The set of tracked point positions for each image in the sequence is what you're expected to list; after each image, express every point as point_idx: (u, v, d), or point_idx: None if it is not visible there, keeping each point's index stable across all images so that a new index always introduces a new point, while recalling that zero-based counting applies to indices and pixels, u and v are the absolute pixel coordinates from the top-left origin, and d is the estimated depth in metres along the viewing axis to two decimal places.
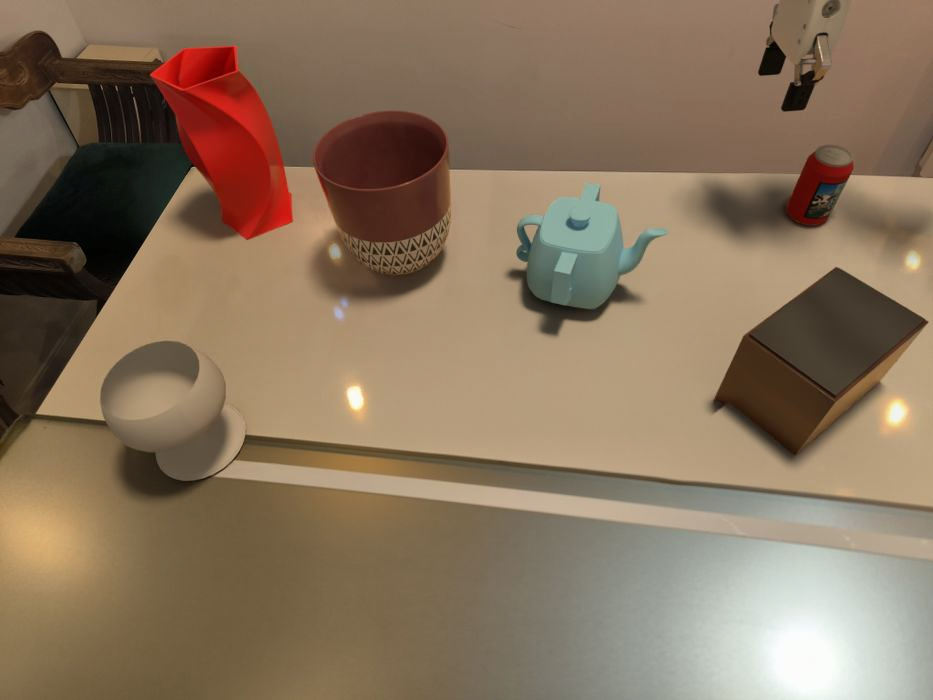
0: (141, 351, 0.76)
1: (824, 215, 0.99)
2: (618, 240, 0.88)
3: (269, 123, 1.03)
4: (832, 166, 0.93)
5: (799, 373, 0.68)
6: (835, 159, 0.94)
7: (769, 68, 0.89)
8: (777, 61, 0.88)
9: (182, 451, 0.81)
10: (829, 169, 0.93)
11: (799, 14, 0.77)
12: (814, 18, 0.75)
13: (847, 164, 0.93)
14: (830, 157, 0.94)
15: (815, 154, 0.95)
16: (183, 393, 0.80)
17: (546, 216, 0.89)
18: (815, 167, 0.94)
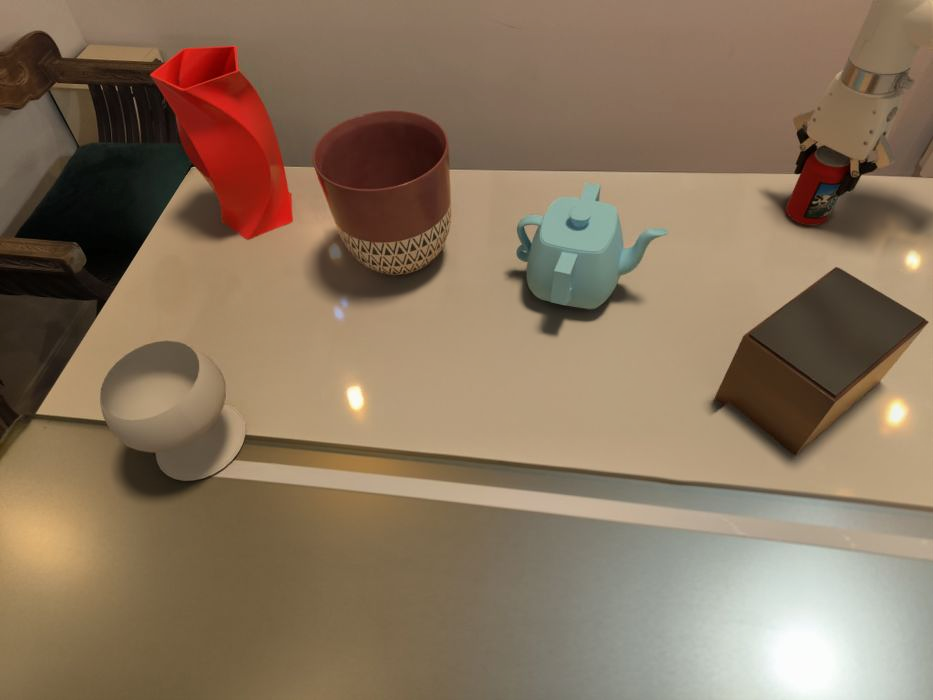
0: (141, 351, 0.76)
1: (824, 215, 0.99)
2: (618, 240, 0.88)
3: (269, 123, 1.03)
4: (832, 166, 0.93)
5: (799, 373, 0.68)
6: (835, 159, 0.94)
7: None
8: None
9: (182, 451, 0.81)
10: (829, 169, 0.93)
11: (861, 122, 0.86)
12: (881, 124, 0.85)
13: (847, 164, 0.93)
14: (830, 157, 0.94)
15: (815, 154, 0.95)
16: (183, 393, 0.80)
17: (546, 216, 0.89)
18: (815, 167, 0.94)
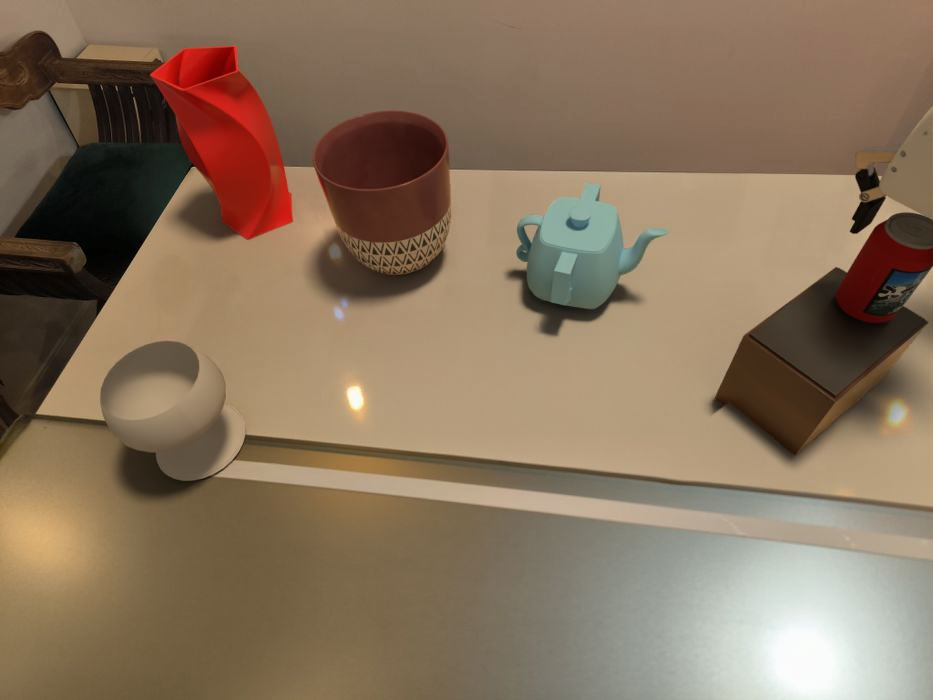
0: (141, 351, 0.76)
1: (894, 311, 0.69)
2: (618, 240, 0.88)
3: (269, 123, 1.03)
4: (913, 248, 0.62)
5: (799, 373, 0.68)
6: (916, 236, 0.63)
7: (865, 223, 0.67)
8: (873, 213, 0.67)
9: (182, 451, 0.81)
10: (909, 252, 0.62)
11: None
12: None
13: None
14: (909, 233, 0.63)
15: (886, 227, 0.64)
16: (183, 393, 0.80)
17: (546, 216, 0.89)
18: (887, 248, 0.63)
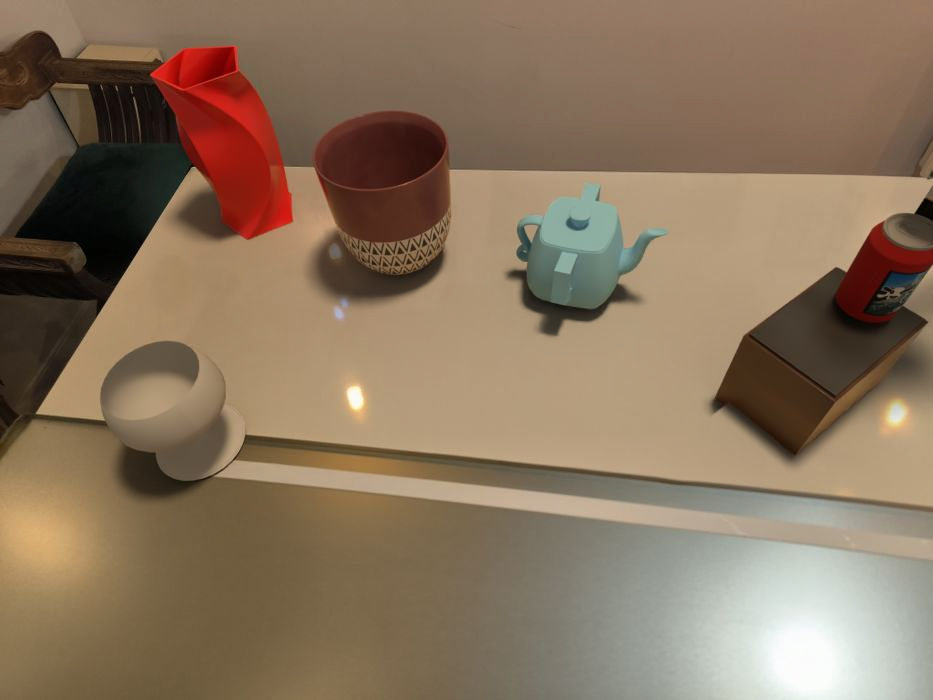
0: (141, 351, 0.76)
1: (894, 311, 0.68)
2: (618, 240, 0.88)
3: (269, 123, 1.03)
4: (910, 250, 0.62)
5: (799, 373, 0.68)
6: (914, 237, 0.63)
7: None
8: None
9: (182, 451, 0.81)
10: (906, 254, 0.62)
11: None
12: None
13: None
14: (906, 235, 0.63)
15: (883, 229, 0.64)
16: (183, 393, 0.80)
17: (546, 216, 0.89)
18: (884, 250, 0.63)
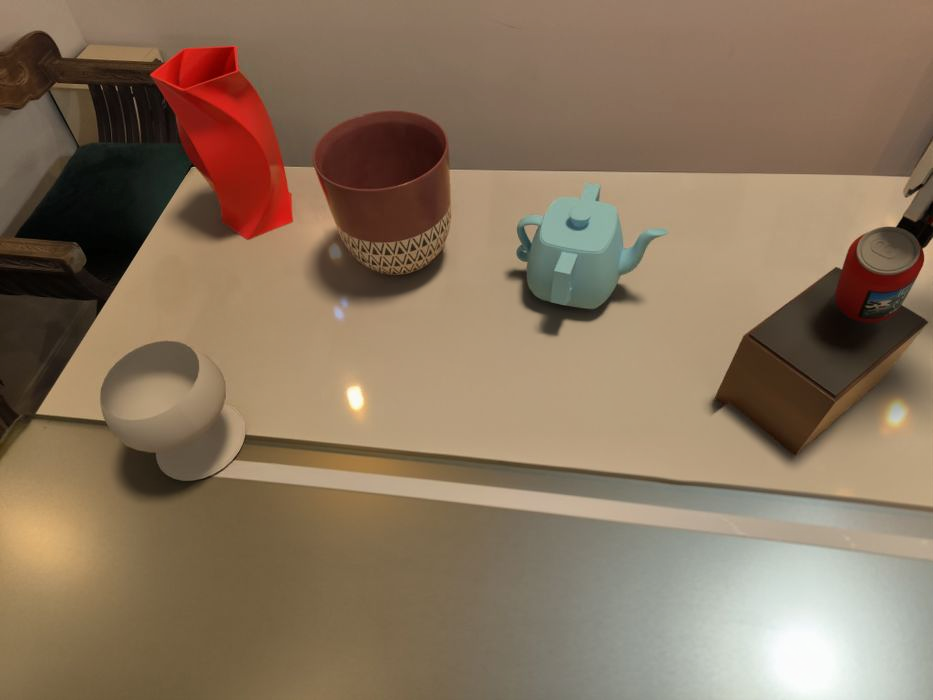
0: (141, 351, 0.76)
1: (891, 312, 0.68)
2: (618, 240, 0.88)
3: (269, 123, 1.03)
4: (883, 274, 0.61)
5: (799, 373, 0.68)
6: (889, 258, 0.61)
7: None
8: None
9: (182, 451, 0.81)
10: (879, 278, 0.61)
11: None
12: None
13: (909, 267, 0.60)
14: (881, 256, 0.61)
15: (856, 252, 0.63)
16: (183, 393, 0.80)
17: (546, 216, 0.89)
18: (858, 274, 0.63)
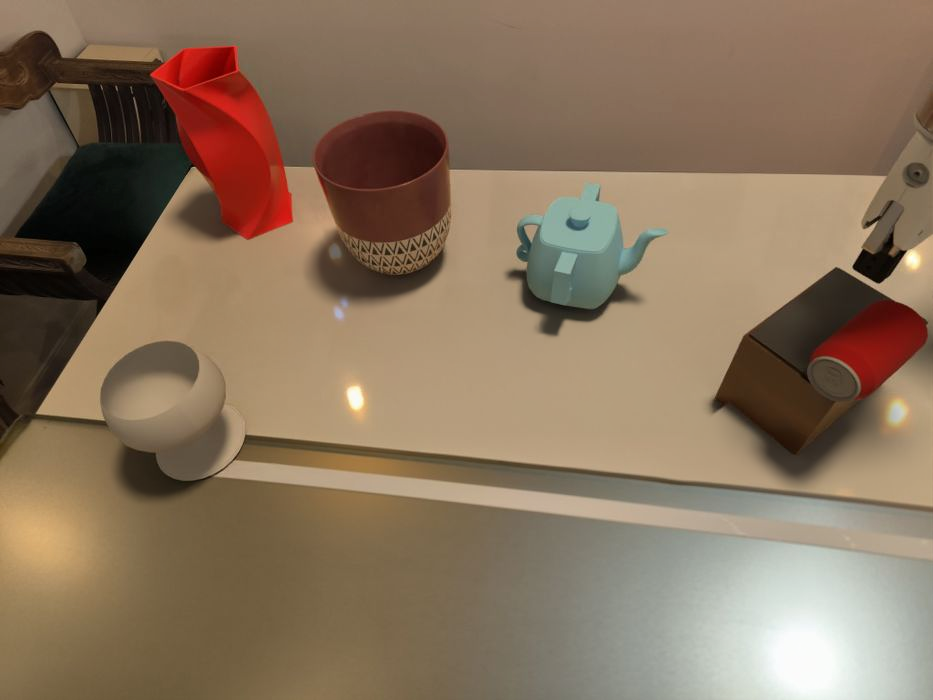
0: (141, 351, 0.76)
1: None
2: (618, 240, 0.88)
3: (269, 123, 1.03)
4: None
5: (799, 373, 0.68)
6: (826, 380, 0.64)
7: None
8: None
9: (182, 451, 0.81)
10: None
11: None
12: (892, 176, 0.52)
13: (824, 394, 0.65)
14: (825, 375, 0.63)
15: (820, 357, 0.63)
16: (183, 393, 0.80)
17: (546, 216, 0.89)
18: (811, 356, 0.65)
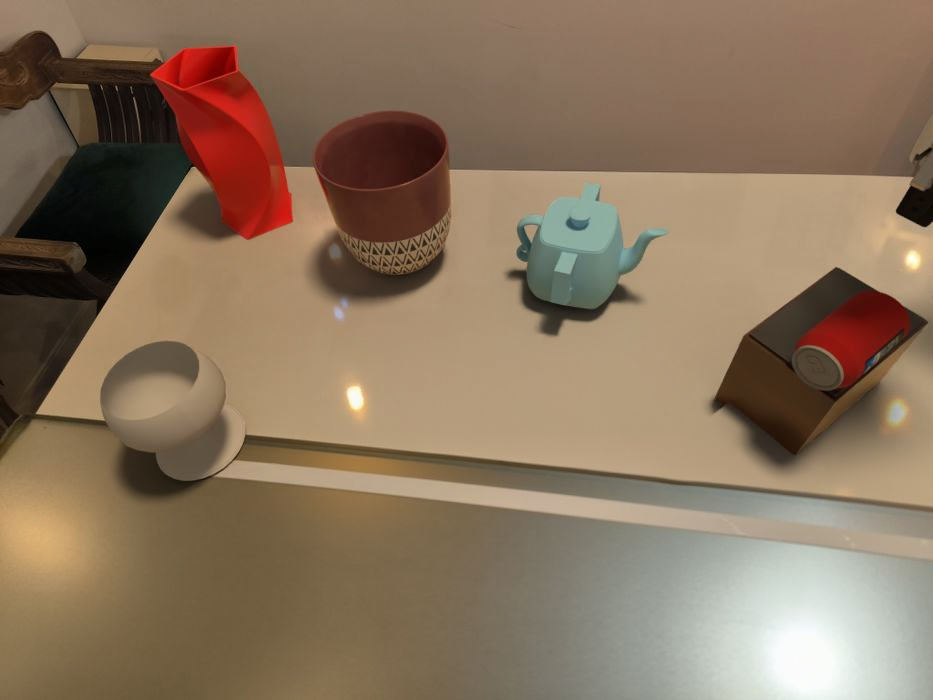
0: (141, 351, 0.76)
1: None
2: (618, 240, 0.88)
3: (269, 123, 1.03)
4: None
5: None
6: (814, 373, 0.64)
7: None
8: None
9: (182, 451, 0.81)
10: None
11: None
12: None
13: (821, 388, 0.65)
14: (809, 367, 0.64)
15: None
16: (183, 393, 0.80)
17: (546, 216, 0.89)
18: None
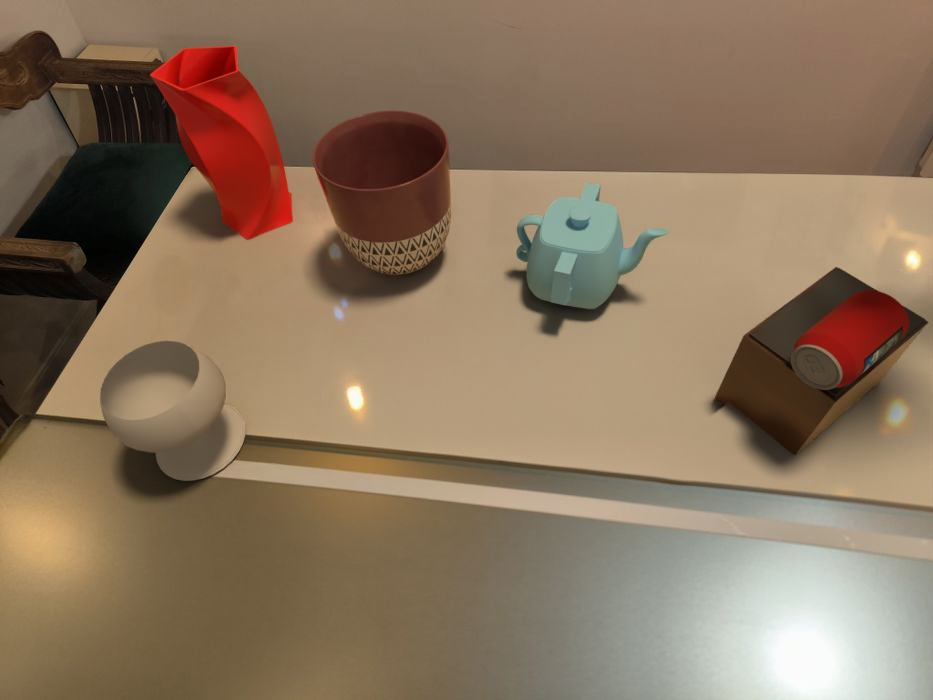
0: (141, 351, 0.76)
1: None
2: (618, 240, 0.88)
3: (269, 123, 1.03)
4: None
5: None
6: (813, 372, 0.64)
7: None
8: None
9: (182, 451, 0.81)
10: None
11: None
12: None
13: (821, 388, 0.65)
14: (808, 367, 0.65)
15: (794, 351, 0.65)
16: (183, 393, 0.80)
17: (546, 216, 0.89)
18: None
